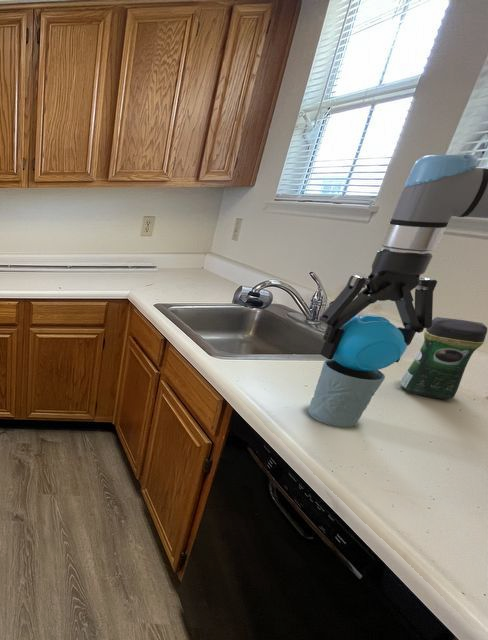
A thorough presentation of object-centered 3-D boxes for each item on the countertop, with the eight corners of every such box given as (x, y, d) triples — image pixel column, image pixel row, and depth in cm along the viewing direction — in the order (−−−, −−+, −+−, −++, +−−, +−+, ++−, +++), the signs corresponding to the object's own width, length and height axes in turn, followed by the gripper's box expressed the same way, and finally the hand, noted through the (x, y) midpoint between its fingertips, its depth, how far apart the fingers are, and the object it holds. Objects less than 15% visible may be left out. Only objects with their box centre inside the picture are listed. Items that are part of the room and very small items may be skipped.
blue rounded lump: (404, 377, 83) (432, 321, 78) (365, 384, 80) (391, 327, 75) (342, 354, 93) (363, 304, 88) (305, 360, 90) (324, 308, 85)
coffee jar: (447, 391, 104) (487, 320, 96) (455, 403, 98) (498, 329, 90) (396, 380, 109) (430, 312, 101) (400, 392, 103) (436, 320, 95)
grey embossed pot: (314, 401, 98) (333, 355, 93) (368, 420, 91) (392, 371, 86) (297, 414, 93) (316, 366, 88) (352, 435, 85) (377, 384, 80)
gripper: (458, 248, 78) (406, 353, 88) (323, 245, 80) (286, 348, 90) (498, 255, 72) (437, 368, 81) (349, 251, 74) (307, 362, 83)
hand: (358, 358), depth 86 cm, fingers closed on blue rounded lump, 12 cm apart
